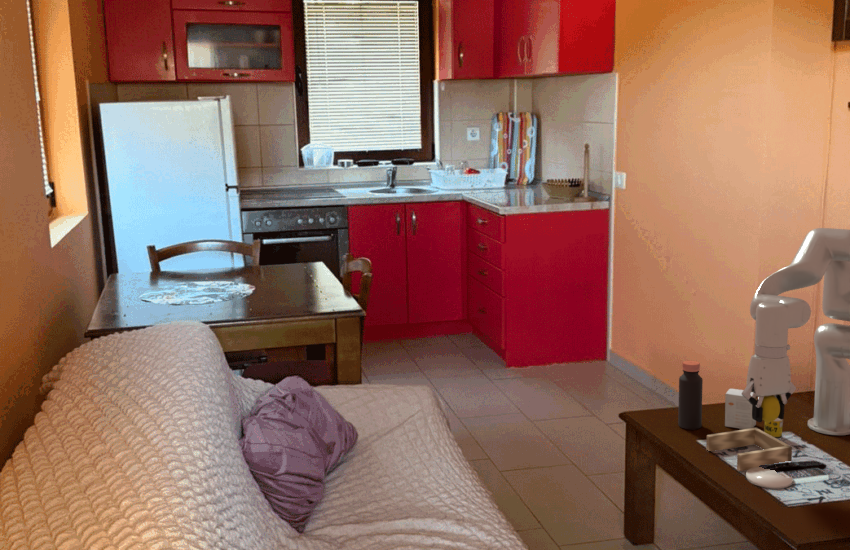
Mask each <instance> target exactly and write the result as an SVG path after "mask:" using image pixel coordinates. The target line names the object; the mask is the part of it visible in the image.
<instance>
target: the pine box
mask: <svg viewBox="0 0 850 550" xmlns="http://www.w3.org/2000/svg"><path fill="white" fill-rule="evenodd" d="M754 444H755V446H756V445H757V446H756V447H758V446H759V447H758V448H760V447H761V448H762V449H761V448H760V449H759V450H752V451H746V452H740V453H736V455H737V457H736V458H737V459H736V471H738V472H744V471H746V472H747V470H749V469H751V468H754V467H759V466H760V465H765V464H774V463H779V462H785V461H792V460H793V446H791V445H790V444H787V443H785V442H784V441H782V440H781V439H780V440H778V439H776V438H775V437H773V436H771V435H769V434H767V433H765V432H764V430H761V429H760V428H759V427H754V428H750V429H739V430H732V431H725V432H717V433H711V434H707V435H706V446H705V447H706V448H705V450H706V451H707V450H708V451H711V452H716V451H715V450H717V451H722V450H723V449H724V450H728V449H735V448H741V447H742V448H743V447H748V446H754ZM763 449H764V450H763ZM724 450H723V451H724ZM708 451H707V452H708ZM792 462H793V461H792Z"/></svg>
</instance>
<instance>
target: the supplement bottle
mask: <svg viewBox="0 0 850 550" xmlns="http://www.w3.org/2000/svg"><path fill="white" fill-rule="evenodd" d="M783 423H784V419H779V418H777V419H776V420H774V421H771V422H770V423H766V422H765V421H764V427H763V432H765V433H767V434H769V435H771V436H773V437H775V438H776V439H780V440H781V439H782V438H783V425H784V424H783Z"/></svg>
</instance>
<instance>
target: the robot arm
mask: <svg viewBox="0 0 850 550" xmlns="http://www.w3.org/2000/svg"><path fill="white" fill-rule="evenodd" d="M822 280H823V286H822V287H823V288H822V289H823V290H822V304H821V305H822V312H823V314H824V316H825V317H827V318H829V319H832V320H837V321H844V322H850V229H846V228H845V229H844V228H831V227H817V228H814V229H811V230H810V231H808V233H806V235H805V237H804V238H803V240H802V242H801V244H800V245H799V247H798V249H797V251H796V253H795V255H794V257H793V258H792V261H791V263H790V264H789V265H787V266H785V267H781V268H780V269H778V270H777V271H775V272H773V273H772V274H770V275H768V276H767V277H765V278H764V279H763V281H761V283H760V284H759V286H758V287H757V289H756V291H755V292H754V295H753V297H752V300H751V302H750V305H749V313H750V316H751V318H752V320H754V321H755V333H754V334H755V335H754V354H753V355H751V357H750V359H749V365H748V368H747V375H746V386H745V388H744V389H743V390H744V391H743V392H742V396H744V397H745V398H746V399H747V400H748V401H749V402H750V404H752V418H753V419H754V420H756V423H757V422H758V423H762V422H763V420H762V415H763V408H762V407H760V406H761V404H762V401H763V398H764V396H772V395H773V396H775V397H776V398H777V399H778V401H779V404H780V413H779V416H778V418H779V419H783V420H784V419H785V406H786V404H787V403H788V400H789V398H791V396H792V395H793V394H794V392H795V391H796V390H797V387H796V385H794V383H793V382H792V378H791V377H792V373H791V363H790V357H789V355H788V350H790V349H791V345H790V344H788V339H789V338H788V336H789V329H797V328H801V327H803V326H804V325H806V324H807V323H808V321H809V320H810V318H811V315H812V310H811V306H810V304H809V303H808V302H807V301H806V300H804V299H801V298H797V297H790V296H784V295H781V294H784V293H786V292H789V291H795V290H799V289H803V288H807V287H809V288H810V287H811V286H814V285H817V284H819V283H820V282H821V281H822ZM813 345H814V351H815V367H816V368H815V384H814V385H815V387H814V405H813V406H814V407H813V417H812V418H809V419H808V420H807V427H808V428H809V429H810V430H812V431H814V432H817V433H820V434H824V435H828V436H829V435H830V436H846V435H847V436H848V435H850V364H849V362H848V360H850V325H849V324H841V323H832V322H829V323H828V322H827V323H824V324H820V325H819V326H817V327H816V329H815V331H814V335H813ZM751 392H753V395H752V396H751V395H750V393H751Z"/></svg>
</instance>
